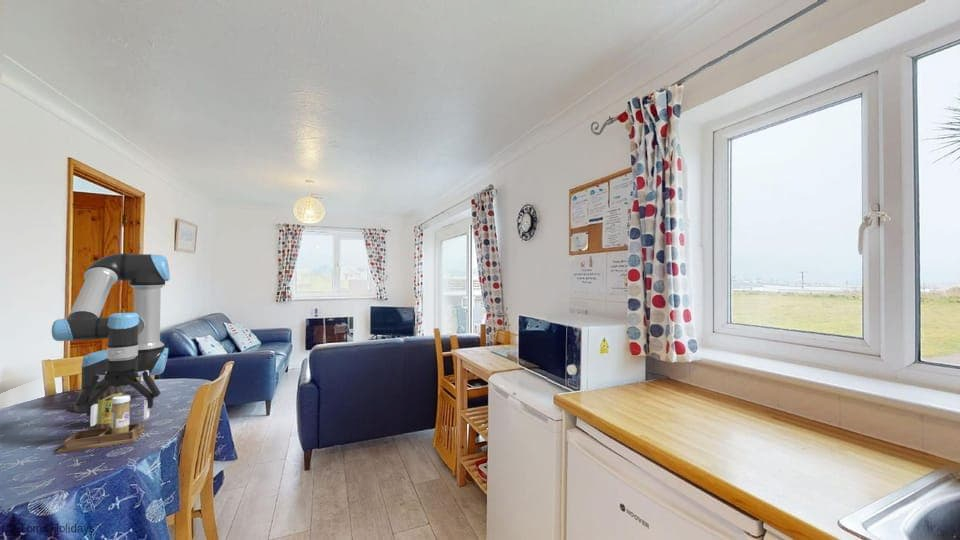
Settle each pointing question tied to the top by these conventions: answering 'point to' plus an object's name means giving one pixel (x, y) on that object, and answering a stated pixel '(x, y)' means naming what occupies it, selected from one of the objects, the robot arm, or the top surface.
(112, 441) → the slot rack
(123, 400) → the sprinkles bottle
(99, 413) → the sauce bottle
